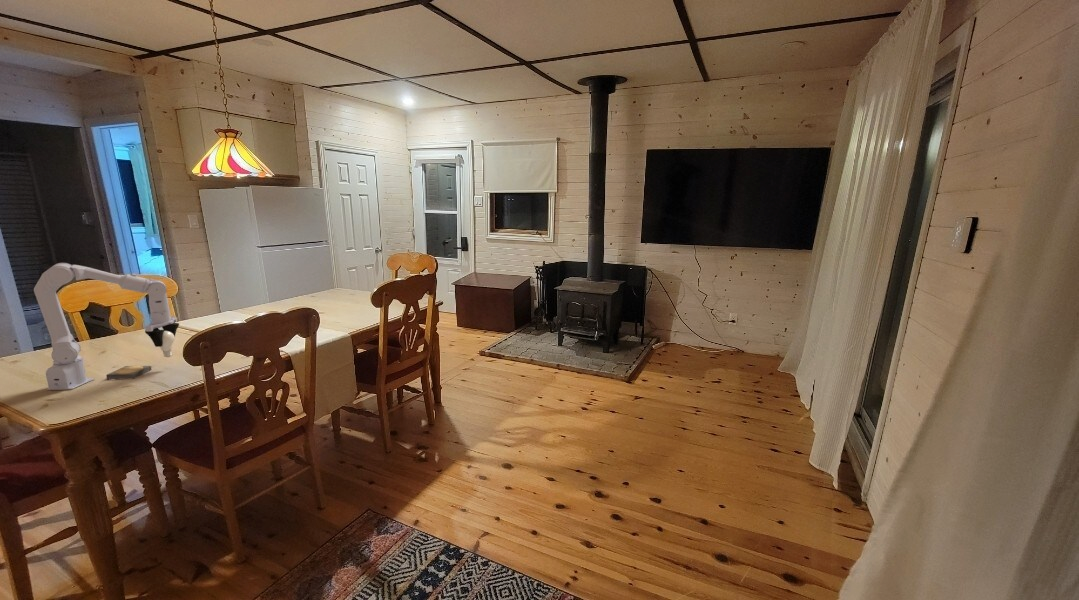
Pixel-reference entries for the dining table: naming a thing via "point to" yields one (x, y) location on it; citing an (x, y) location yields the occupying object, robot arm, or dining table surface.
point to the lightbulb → (167, 343)
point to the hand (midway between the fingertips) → (165, 343)
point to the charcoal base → (128, 372)
